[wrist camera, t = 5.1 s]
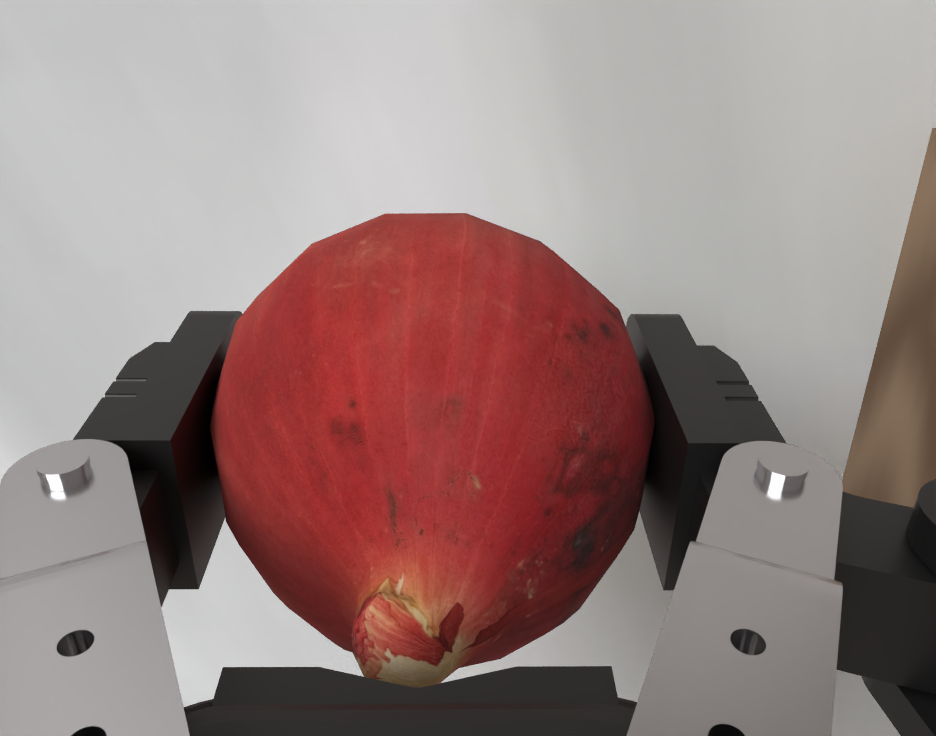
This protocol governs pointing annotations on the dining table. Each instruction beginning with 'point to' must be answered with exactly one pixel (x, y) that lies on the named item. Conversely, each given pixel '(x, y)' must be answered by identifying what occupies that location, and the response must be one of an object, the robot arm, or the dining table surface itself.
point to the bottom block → (903, 369)
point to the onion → (431, 441)
